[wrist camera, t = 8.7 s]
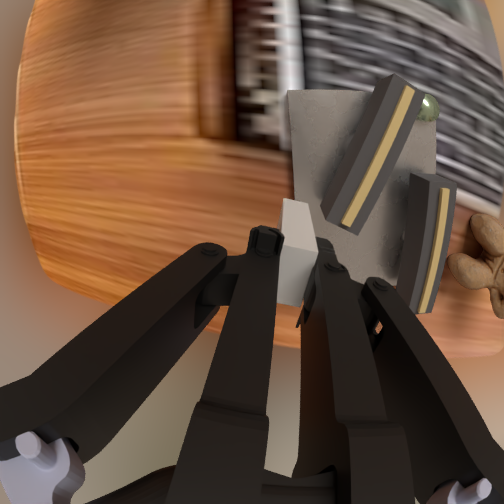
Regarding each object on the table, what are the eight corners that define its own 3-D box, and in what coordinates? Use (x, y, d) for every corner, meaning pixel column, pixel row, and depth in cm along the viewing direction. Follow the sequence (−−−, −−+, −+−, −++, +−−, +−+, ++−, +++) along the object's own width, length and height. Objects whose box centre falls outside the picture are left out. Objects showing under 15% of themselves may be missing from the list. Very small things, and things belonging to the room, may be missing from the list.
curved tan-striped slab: (392, 287, 30) (408, 318, 24) (405, 170, 24) (432, 182, 18) (414, 286, 29) (432, 315, 24) (430, 172, 23) (459, 184, 18)
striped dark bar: (318, 202, 27) (326, 222, 21) (374, 82, 20) (396, 72, 15) (345, 216, 27) (359, 238, 21) (401, 99, 21) (428, 94, 15)
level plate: (286, 87, 23) (286, 84, 21) (429, 97, 21) (438, 96, 19) (296, 284, 33) (297, 294, 31) (416, 279, 30) (422, 288, 28)
